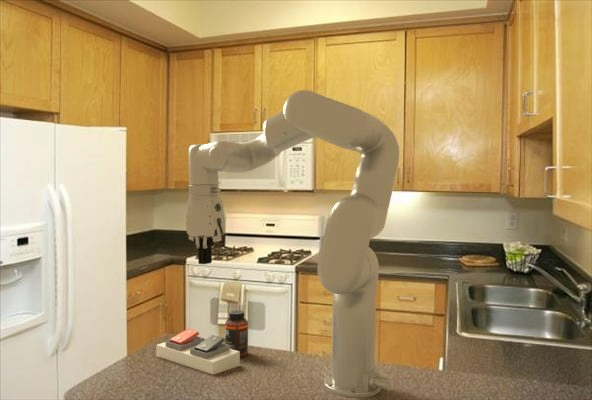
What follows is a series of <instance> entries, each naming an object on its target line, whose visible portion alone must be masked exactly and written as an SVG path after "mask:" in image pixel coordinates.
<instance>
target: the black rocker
mask: <svg viewBox="0 0 592 400" xmlns="http://www.w3.org/2000/svg"><path fill="white" fill-rule="evenodd" d="M221 343H225V338H224V337H222V336H219V335H214V334H211V335H210V336H208V337H206V338H205V339H204V341H203V342H201V343H200V344H199V345H197V346H196V347H195V350H198V351H201V352H205V353H208V352H210V351H213V350H216V349H219V345H220V344H221Z"/></svg>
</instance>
